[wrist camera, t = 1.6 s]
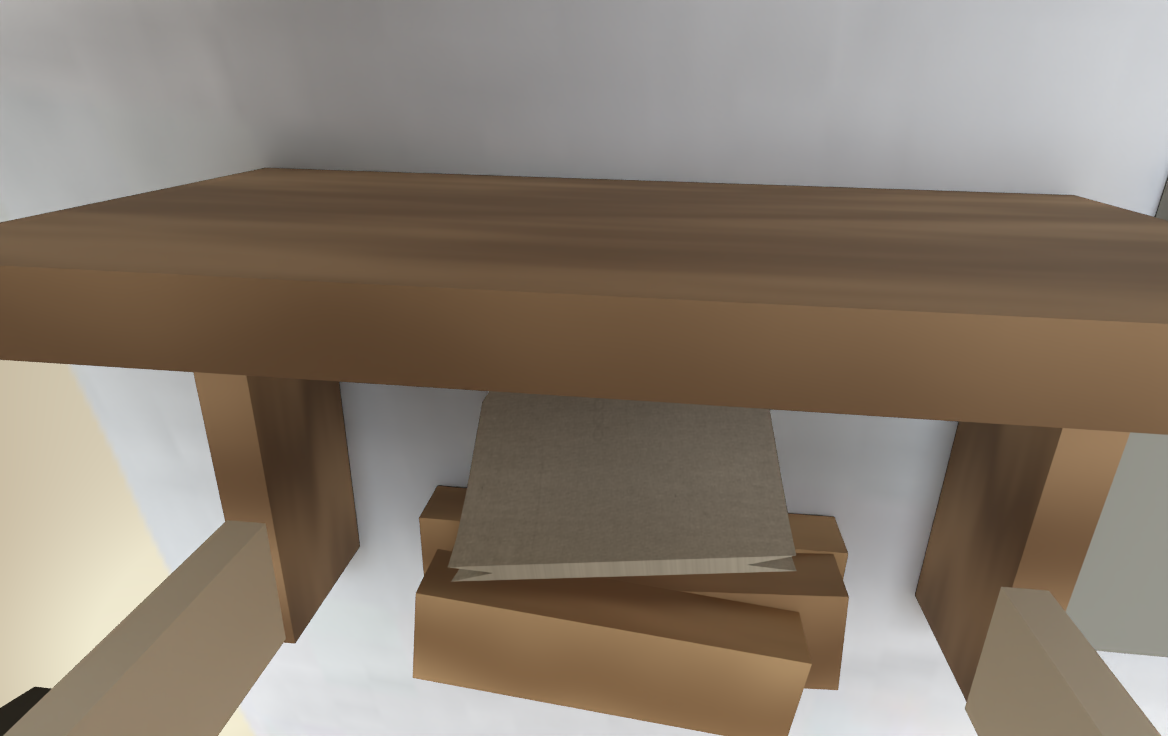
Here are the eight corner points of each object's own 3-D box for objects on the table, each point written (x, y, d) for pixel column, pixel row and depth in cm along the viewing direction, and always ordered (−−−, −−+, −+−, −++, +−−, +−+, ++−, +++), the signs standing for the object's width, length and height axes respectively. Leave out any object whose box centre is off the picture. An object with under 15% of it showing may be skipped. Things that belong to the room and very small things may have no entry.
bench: (265, 167, 21) (-167, 257, 10) (1074, 195, 19) (1633, 347, 8) (322, 543, 27) (77, 867, 16) (959, 599, 24) (1200, 1024, 13)
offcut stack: (436, 477, 25) (371, 589, 19) (836, 508, 24) (887, 637, 18) (444, 586, 27) (386, 716, 21) (814, 620, 25) (855, 768, 20)
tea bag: (527, 324, 22) (429, 493, 13) (740, 306, 21) (794, 474, 12) (544, 426, 24) (466, 643, 15) (745, 413, 23) (798, 638, 14)
